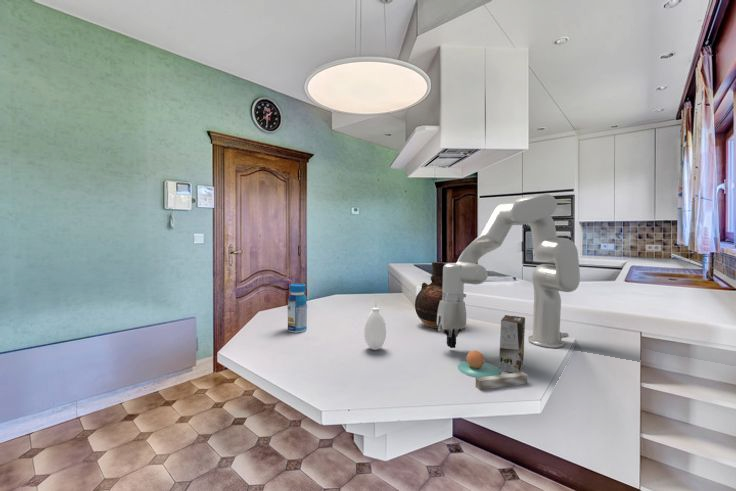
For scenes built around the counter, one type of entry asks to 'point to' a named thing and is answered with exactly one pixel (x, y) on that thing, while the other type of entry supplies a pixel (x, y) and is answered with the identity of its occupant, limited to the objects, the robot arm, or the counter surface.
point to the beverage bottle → (297, 309)
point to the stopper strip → (501, 380)
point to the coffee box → (512, 343)
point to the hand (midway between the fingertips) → (451, 346)
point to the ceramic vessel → (430, 297)
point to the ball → (475, 359)
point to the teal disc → (479, 370)
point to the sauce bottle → (375, 329)
